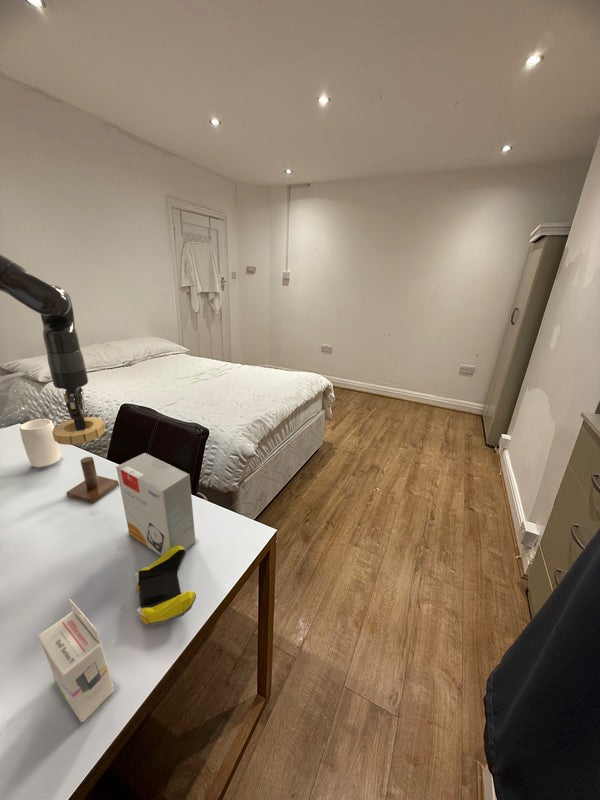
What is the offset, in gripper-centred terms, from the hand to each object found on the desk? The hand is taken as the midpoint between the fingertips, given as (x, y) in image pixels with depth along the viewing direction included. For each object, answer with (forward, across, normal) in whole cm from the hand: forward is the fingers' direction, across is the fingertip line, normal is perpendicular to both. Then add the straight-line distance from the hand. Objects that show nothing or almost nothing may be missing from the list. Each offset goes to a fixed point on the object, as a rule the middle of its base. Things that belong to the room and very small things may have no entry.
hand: (81, 427), depth 89 cm
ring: (0, +4, 0) cm, 4 cm away
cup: (+19, -18, -14) cm, 29 cm away
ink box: (+19, +58, 0) cm, 61 cm away
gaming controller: (+19, +47, +14) cm, 53 cm away
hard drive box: (+19, +31, +15) cm, 40 cm away
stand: (+19, +4, 0) cm, 19 cm away
